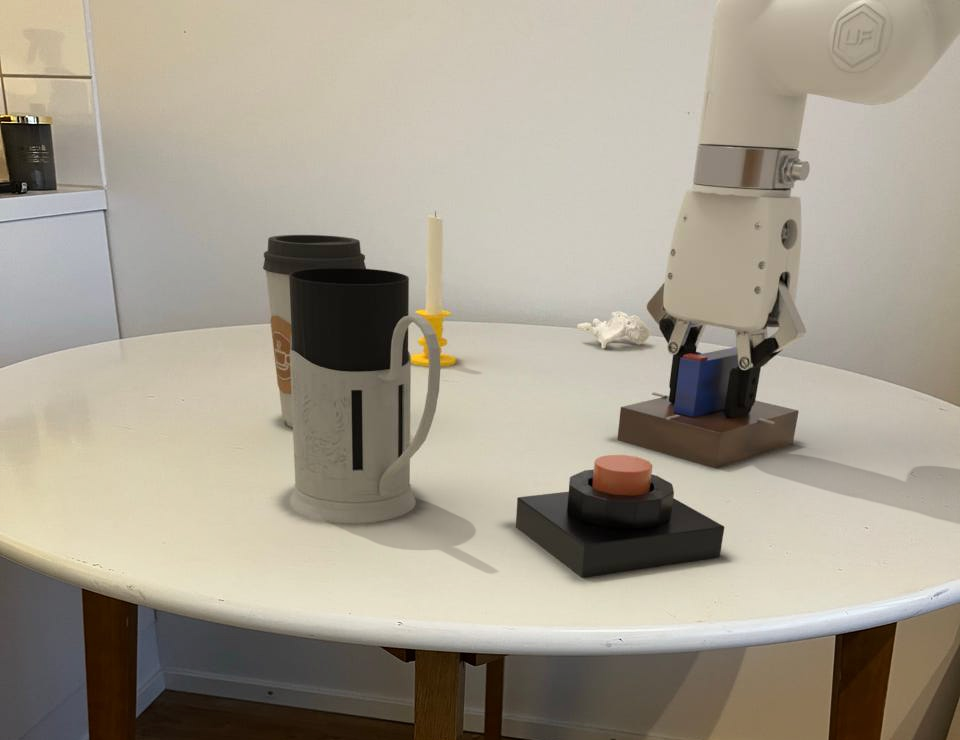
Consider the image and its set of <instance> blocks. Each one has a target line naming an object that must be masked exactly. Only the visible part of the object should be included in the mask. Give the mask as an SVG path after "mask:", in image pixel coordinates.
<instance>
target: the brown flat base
mask: <svg viewBox="0 0 960 740" xmlns="http://www.w3.org/2000/svg"><path fill="white" fill-rule="evenodd" d="M651 395H652V396H656V397H657V398H654V399H648V400H645V401H641V402H637V403H632V404H627V405H623V406H620V409H619V410H620V411H619V419H618V430H617V441H618V442H622V443H625V444H629V445H631V446H632V445H633V446H635V447H639V448H643V449H646V450H649V451H653V452H657V453H660V454H663V455H667V456H671V457H672V458H673V457H674V458H677V459H681V460H684V461H688V462H691V463H695V464H697V465H701V466H705V467H708V468H712V469H719V468H721V467H724V466H725V467H726V466H728V465H730V464H733V463H738V462H740V461H742V460H747V459H748V458H752V457H756V456H758V455H761V454H765V453H767V452H770V451H774V450H777V449H780V448H783V447H786V446H789V445H792V444H794V440H795V433H796V429H797V424H798V418H799V410H798V409H794V408H789V407H785V406H781V405H777V404H772V403H769V402H763V401H760V400H757V399H756V400H755V403H754V405H753V406H752V408H751V411H750V413H749V414H745V415H742V416H738V417H734V418H729V417H726V416H725V414H724V409H723V410H719V411H715V412H711V413H708V414H704V415H700V416H696V417H689V416H686V415H682V414H678V413H674V403H670V402H669V395H667V394H663V393H660V392H659V393H658V392H655V391H654V392H652V393H651Z"/></svg>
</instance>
